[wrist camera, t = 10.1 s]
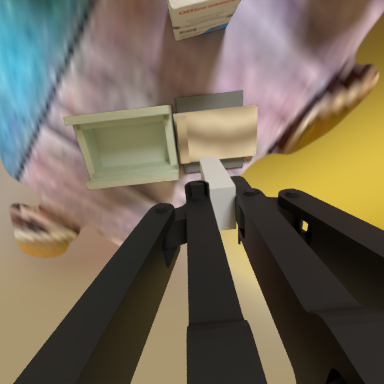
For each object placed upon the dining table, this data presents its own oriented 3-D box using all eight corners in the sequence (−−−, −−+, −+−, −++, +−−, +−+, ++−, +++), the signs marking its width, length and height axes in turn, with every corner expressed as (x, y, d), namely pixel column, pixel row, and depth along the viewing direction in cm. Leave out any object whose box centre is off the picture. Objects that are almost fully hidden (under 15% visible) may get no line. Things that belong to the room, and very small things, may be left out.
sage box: (83, 115, 36) (62, 117, 30) (170, 105, 36) (167, 104, 30) (102, 176, 41) (87, 189, 35) (179, 168, 41) (178, 179, 34)
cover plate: (173, 113, 36) (172, 114, 33) (255, 105, 36) (262, 105, 33) (179, 161, 40) (179, 166, 36) (254, 154, 40) (260, 158, 36)
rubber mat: (175, 98, 35) (175, 98, 35) (242, 90, 35) (242, 90, 35) (184, 172, 41) (184, 173, 41) (242, 166, 41) (242, 166, 41)
